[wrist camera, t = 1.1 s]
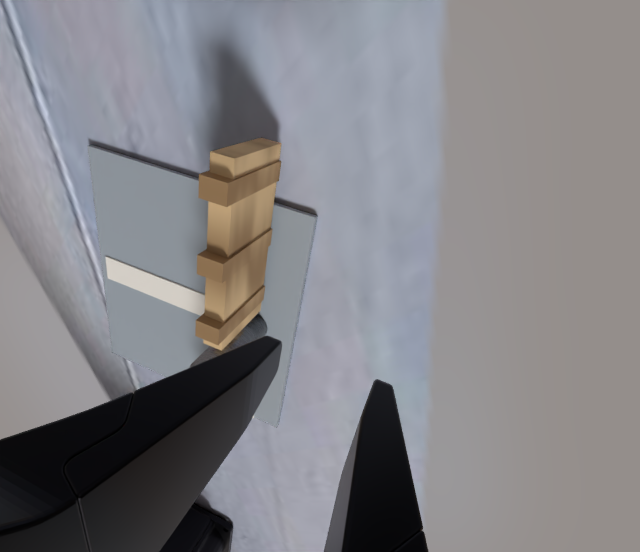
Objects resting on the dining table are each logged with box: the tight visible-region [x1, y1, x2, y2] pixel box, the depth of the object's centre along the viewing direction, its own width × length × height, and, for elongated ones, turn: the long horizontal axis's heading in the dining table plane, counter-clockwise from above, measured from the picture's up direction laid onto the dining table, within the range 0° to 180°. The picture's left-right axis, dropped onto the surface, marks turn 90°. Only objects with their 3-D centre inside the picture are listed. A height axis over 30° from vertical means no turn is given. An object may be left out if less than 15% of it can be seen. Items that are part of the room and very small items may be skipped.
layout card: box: [88, 145, 318, 428], centre depth 24 cm, size 15×14×1 cm
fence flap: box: [195, 138, 281, 351], centre depth 18 cm, size 9×1×4 cm, turn 170°
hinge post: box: [190, 314, 268, 367], centre depth 21 cm, size 2×2×5 cm
